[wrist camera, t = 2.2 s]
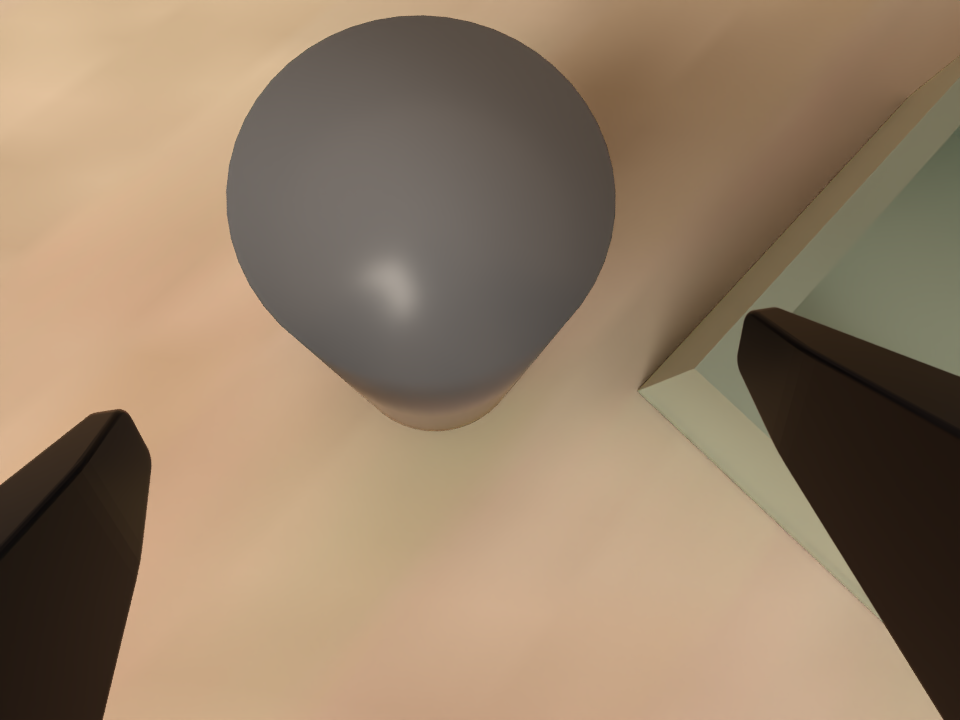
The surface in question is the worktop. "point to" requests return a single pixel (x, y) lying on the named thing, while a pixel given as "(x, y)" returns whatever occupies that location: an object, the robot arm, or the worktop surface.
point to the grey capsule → (421, 211)
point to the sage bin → (836, 299)
